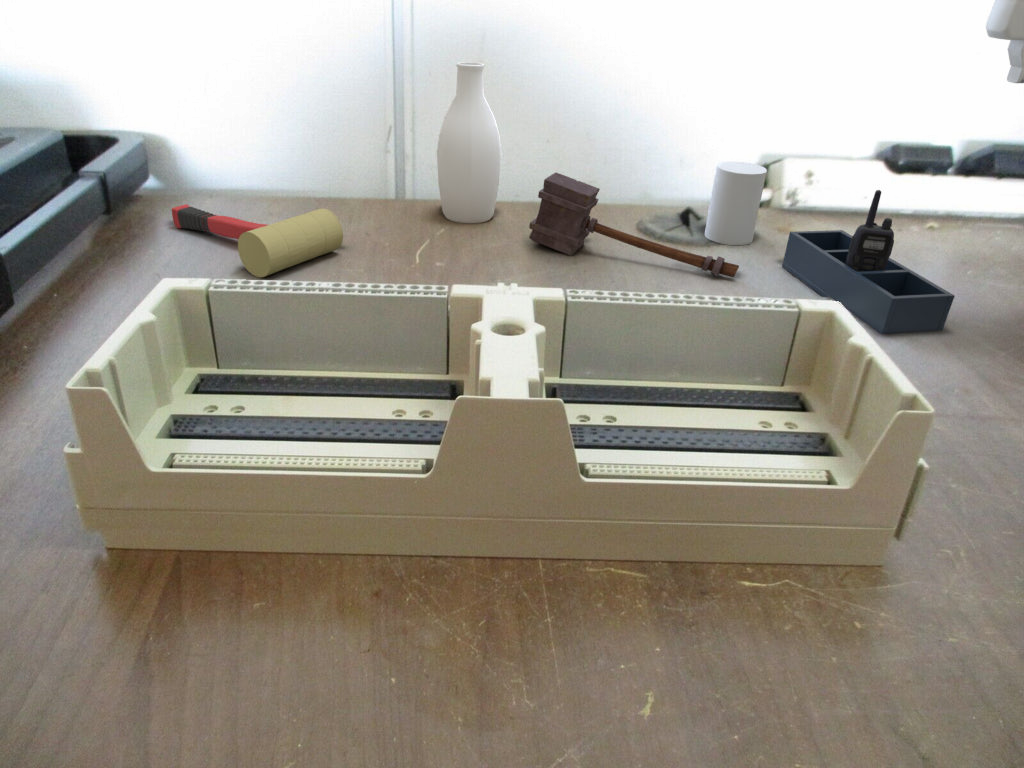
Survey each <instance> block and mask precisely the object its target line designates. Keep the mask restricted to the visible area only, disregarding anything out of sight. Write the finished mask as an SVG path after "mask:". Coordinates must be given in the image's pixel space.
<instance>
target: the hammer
mask: <svg viewBox="0 0 1024 768" xmlns="http://www.w3.org/2000/svg"><path fill="white" fill-rule="evenodd" d="M600 190H601V189H600V187H597V186H593V185H591V184H589V183H586V182H584V181H581V180H577V179H575V178H573V177H570V176H568V175H564V174H562V173H559V172H554V173H552V174H550V175H549V176H547V177H546V178H544V180H543V188H542V189H540V190H538V193H537V194H538V195H537V196H538V197H537V198H539V199H541V200H540V204H539V208H538V213H537V216H536V217H535V218H534V219H532V220H531V221H530V222H529V225H528V229H530V230H531V232H530V234H529V237H528V239H530V240H531V241H533V242H535V243H538V244H541V245H543V246H545V247H547V248H550V249H553V250H555V251H558V252H560V253H563V254H565V255H567V256H569V257H570V256H572V255H573V254H575V253H576V252H577V251H578V250H579V249H580V248H581V247H582V246H584V244H585V239H587V238H588V237H589V235H590V234H594V233H597V234H600V235H602V236H605V237H608V238H611V239H613V240H615V241H618V242H620V243H624V244H627V245H629V246H632V247H635V248H638V249H640V250H644V251H647V252H650V253H653V254H656V255H658V256H662V257H665V258H667V259H671V260H674V261H676V262H681V263H682V264H683V263H684V264H686V265H689V266H693V267H696V268H699V269H701V270H702V271H704V272H708V271H709V272H710V274H712V275H713V276H714V277H716V278H718V276H719V274H720V275H724V276H727V277H731V278H735V276H736V275H737V272H738V270H739V268H740V265H738V264H736V263H731V262H727V261H725V258H724V257H722V256H720V255H719V256H717V257H716V259H714V257H713V256H711V255H707V256H703V255H699V254H697V253H692V252H688V251H685V250H681V249H678V248H674V247H671V246H667V245H664V244H661V243H658V242H654V241H651V240H648V239H645V238H642V237H639V236H635V235H634V234H633V235H632V234H630V233H626V232H623V231H621V230H618V229H616V228H613V227H609V226H606V225H604V224H601V223H598V222H599V219H597V218H595V217H591V211H592V209H593V208H594V207H596V206H597V205H598V203H599V198H597V197H598V194H599V192H600Z"/></svg>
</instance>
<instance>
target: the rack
mask: <svg viewBox="0 0 1024 768" xmlns="http://www.w3.org/2000/svg"><path fill="white" fill-rule="evenodd" d="M852 236H853V235H851V234H850V233H849V232H846V231H845V230H843V229H838V230H837V229H836V230H835V229H833V230H832V229H831V230H801V231H799V230H797V231H789V234H788V237H787V242H786V243H787V244H786V246H785V247H786V248H785V251H784V256H783V260H782V265H781V267H782V268H783V269H784V270H785V271H787V272H788V273H790V274H791V275H792V276H794V277H795V278H797V279H798V280H799V281H801V282H802V283H803V284H804V285H805V286H807V287H808V288H810V289H811V290H813V291H814V292H815V293H817V294H818V295H819V296H821V297H822V298H831V299H832V300H834V301H835V302H837V301H839V302H841V303H842V304H843V305H844V306H845V307H846V308H845V307H844V306H843V307H844V308H845V309H846V310H847V311H850V312H851V313H852V314H853V315H855V316H856V317H857V318H859V319H860V320H862V321H863V322H864V323H866V324H867V325H868V326H870V327H871V328H873V330H875V331H877V332H878V333H879V334H881V335H889V334H890V335H891V334H907V333H922V332H923V333H925V332H941V331H943V330H944V327H945V324H946V321H947V319H948V316H949V313H950V310H951V307H952V305H953V302H954V299H955V296H956V295H955V294H952V293H951V292H949V291H948V290H946V289H944V288H942V287H941V286H940V285H937V284H936V283H935V282H933V281H930V279H927V278H926V277H924V276H922V275H921V274H919V273H917V272H915V271H913V270H912V269H910V268H908V267H906V266H905V265H904V264H901V263H900V262H898V261H896V260H895V259H892V258H891V257H889V259H888V262H887V265H886V269H885V271H862V272H856V271H855V270H853V269H852V268H850V267H849V266H847V265H846V264H845V263H846V260H847V256H848V253H849V251H848V250H849V246H850V243H851V240H852Z"/></svg>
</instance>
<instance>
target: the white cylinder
mask: <svg viewBox="0 0 1024 768" xmlns="http://www.w3.org/2000/svg"><path fill="white" fill-rule="evenodd" d="M767 173H768V169H767V168H766V167H764V166H762V165H759V164H757V163H751V162H744V161H721V162H718V163H717V164H716V166H715V172H714V177H713V184H712V189H711V190H712V191H711V195H710V201H709V207H708V212H707V218H706V224H705V230H704V237H705V238H706V239H707V240H709V241H712V242H713V243H718V244H722V245H726V246H746V245H749V244H751V243H752V242H753V240H754V235H755V231H756V224H757V221H758V216H759V211H760V205H761V201H762V196H763V193H764V187H765V182H766V177H767Z"/></svg>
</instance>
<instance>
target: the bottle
mask: <svg viewBox="0 0 1024 768" xmlns="http://www.w3.org/2000/svg"><path fill="white" fill-rule="evenodd" d="M455 66H456V69H457V71H456V73H457V74H456V92H455V96H454V98H453V100H452V101H451V103H450V106H449V107H448V109H447V111H446V113H445V115H444V116H443V120H442V124H441V127H440V131H439V134H438V141H437V149H436V164H437V182H438V189H439V197H440V202H441V209H442V214H443V215H444V217H445V218H446V219H447V220H449V221H451V222H455V223H460V224H479V223H485V222H488V221H490V220H491V219H492V218H493V216H494V215H495V211H496V210H495V209H496V205H497V198H498V192H499V187H500V179H501V178H500V177H501V166H502V165H501V164H502V145H501V137H500V132H499V128H498V124H497V120H496V117H495V115H494V113H493V111H492V109H491V107H490V105H489V103H488V101H487V99H486V96H485V95H484V93H485V90H484V87H485V86H484V85H485V84H484V68H485V64H484V63H483V62H477V61H459V62H457V63H456V65H455Z"/></svg>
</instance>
